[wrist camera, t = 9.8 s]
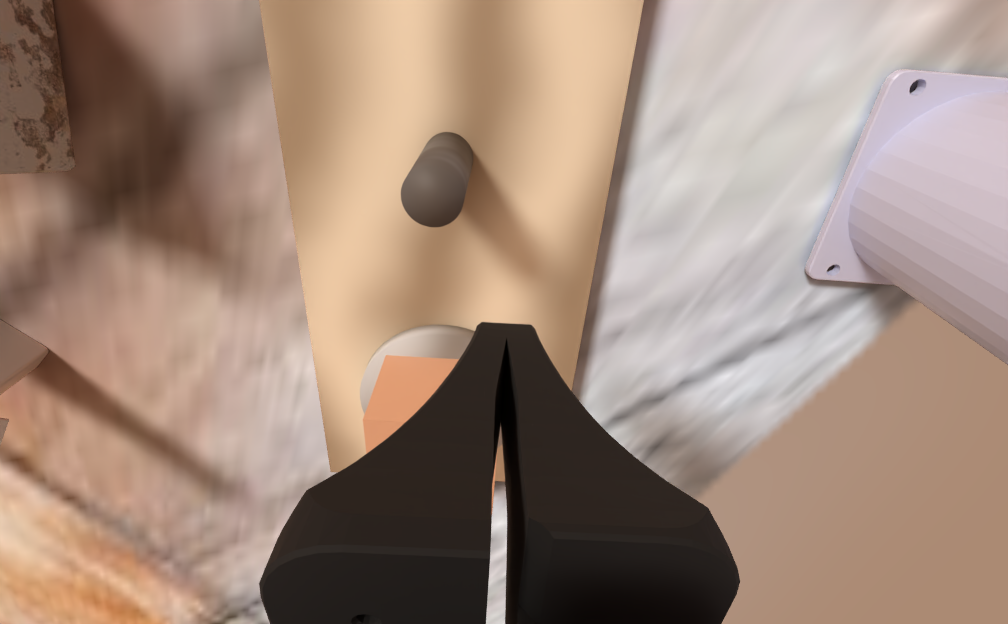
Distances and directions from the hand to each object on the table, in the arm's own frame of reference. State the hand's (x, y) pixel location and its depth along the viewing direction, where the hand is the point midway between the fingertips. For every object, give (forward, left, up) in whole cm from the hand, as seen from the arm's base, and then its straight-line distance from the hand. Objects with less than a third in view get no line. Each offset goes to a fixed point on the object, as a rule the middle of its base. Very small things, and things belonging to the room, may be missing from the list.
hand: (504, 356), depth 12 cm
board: (+2, +2, -9) cm, 10 cm away
